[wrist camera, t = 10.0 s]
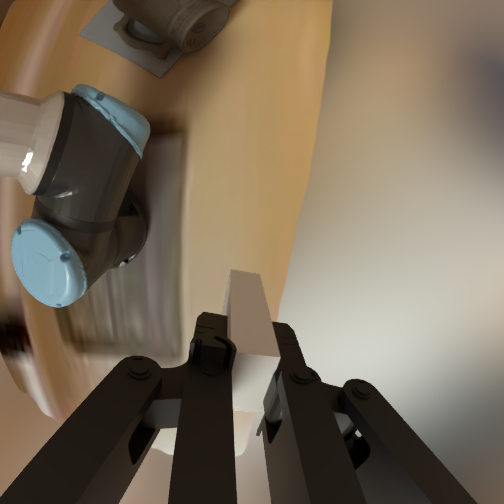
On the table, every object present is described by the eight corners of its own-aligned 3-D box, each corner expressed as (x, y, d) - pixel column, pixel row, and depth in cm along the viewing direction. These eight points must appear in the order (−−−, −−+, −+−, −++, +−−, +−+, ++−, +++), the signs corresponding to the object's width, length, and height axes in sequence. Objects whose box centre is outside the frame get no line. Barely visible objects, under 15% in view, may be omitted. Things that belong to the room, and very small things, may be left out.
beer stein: (239, 12, 34) (160, -22, 30) (223, -8, 25) (133, -40, 21) (187, 76, 41) (117, 36, 37) (159, 71, 32) (83, 29, 28)
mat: (239, -1, 35) (239, -3, 34) (160, 78, 39) (159, 77, 38) (151, -36, 29) (150, -37, 28) (80, 35, 33) (78, 34, 33)
